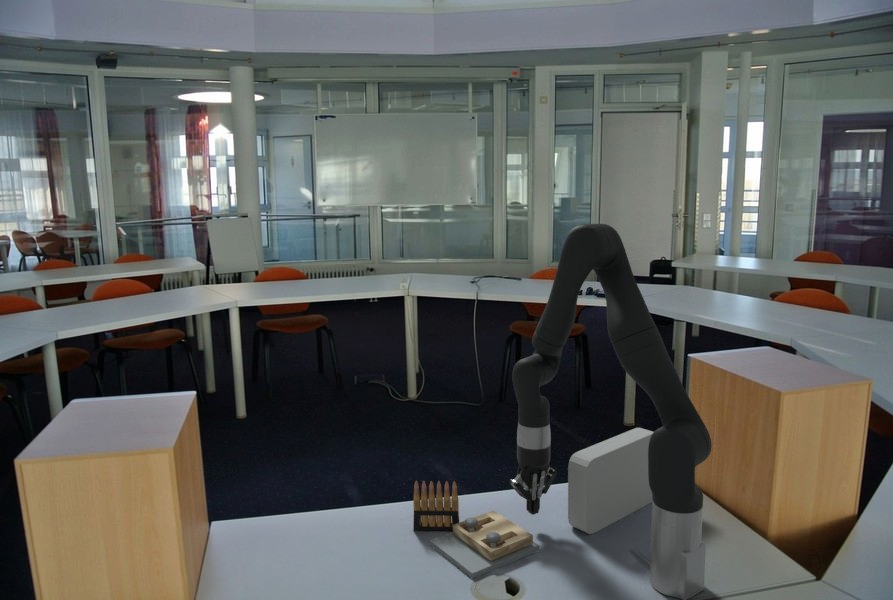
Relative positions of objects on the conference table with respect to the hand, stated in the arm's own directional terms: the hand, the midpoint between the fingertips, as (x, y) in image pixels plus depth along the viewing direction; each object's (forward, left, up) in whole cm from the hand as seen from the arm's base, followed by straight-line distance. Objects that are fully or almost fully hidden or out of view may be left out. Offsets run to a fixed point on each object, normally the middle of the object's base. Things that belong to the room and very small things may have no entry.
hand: (533, 512), depth 154 cm
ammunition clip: (+13, +18, -4) cm, 23 cm away
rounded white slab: (-6, -21, -4) cm, 22 cm away
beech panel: (0, +12, -2) cm, 12 cm away
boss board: (0, +14, -4) cm, 15 cm away
